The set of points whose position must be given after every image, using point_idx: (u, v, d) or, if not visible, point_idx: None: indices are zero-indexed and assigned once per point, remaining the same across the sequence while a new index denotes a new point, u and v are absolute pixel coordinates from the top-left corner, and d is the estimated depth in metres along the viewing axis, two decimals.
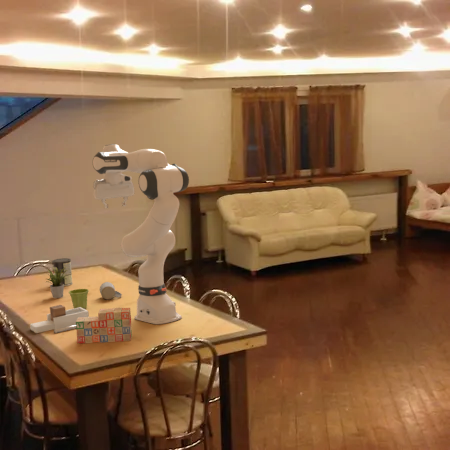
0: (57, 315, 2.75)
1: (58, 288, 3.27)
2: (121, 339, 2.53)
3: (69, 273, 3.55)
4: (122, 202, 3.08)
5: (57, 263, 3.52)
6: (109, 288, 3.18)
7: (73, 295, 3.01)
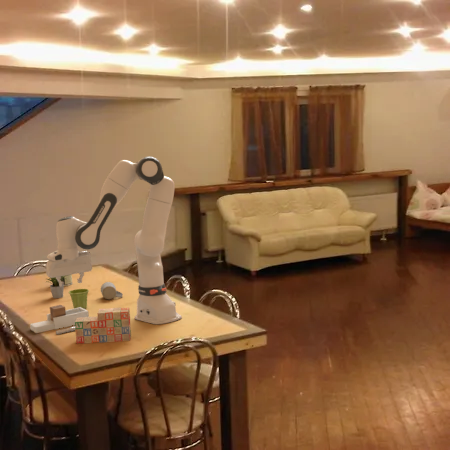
0: (57, 315, 2.75)
1: (58, 288, 3.27)
2: (120, 339, 2.53)
3: None
4: (62, 282, 2.77)
5: None
6: (110, 288, 3.18)
7: (73, 295, 3.01)
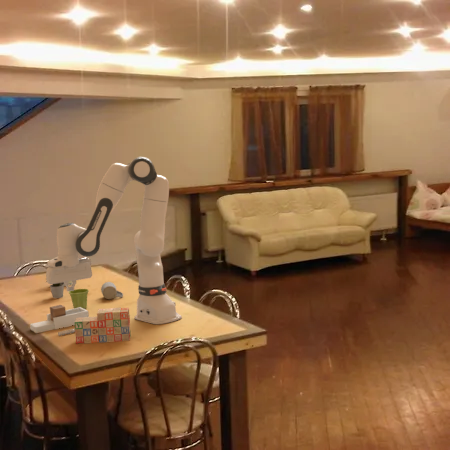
0: (57, 315, 2.75)
1: (58, 288, 3.27)
2: (120, 339, 2.53)
3: None
4: (70, 287, 2.80)
5: None
6: (110, 288, 3.18)
7: (73, 295, 3.01)
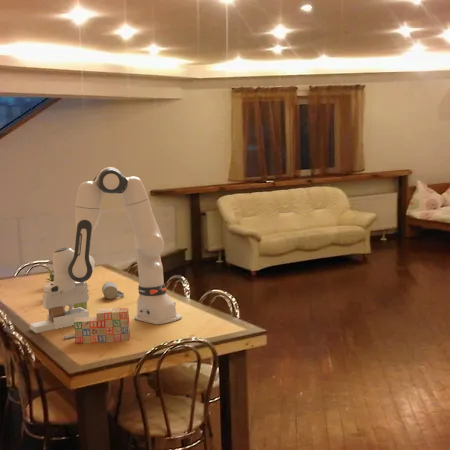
0: (55, 315, 2.75)
1: None
2: (119, 339, 2.53)
3: None
4: (67, 311, 2.80)
5: None
6: (111, 288, 3.19)
7: None
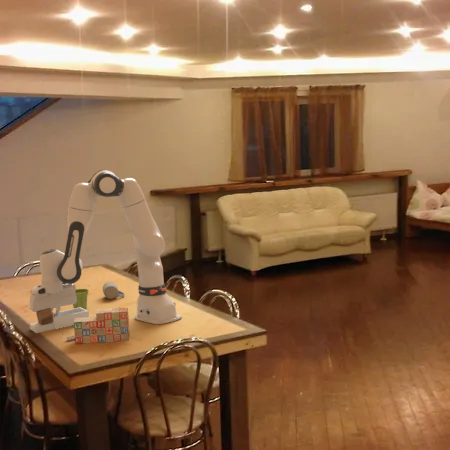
0: (43, 317, 2.72)
1: None
2: (119, 339, 2.53)
3: None
4: (55, 313, 2.77)
5: None
6: (112, 288, 3.19)
7: None
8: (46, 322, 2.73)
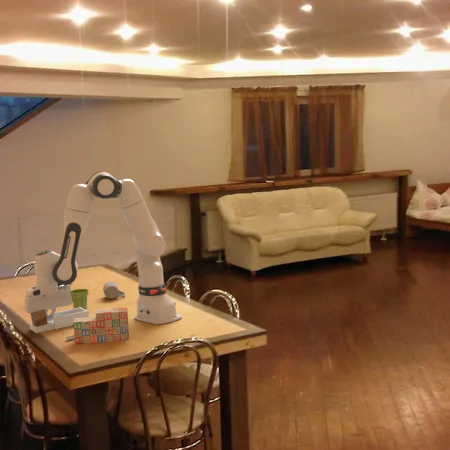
0: (37, 319, 2.70)
1: None
2: (119, 339, 2.54)
3: None
4: (49, 315, 2.75)
5: None
6: (112, 288, 3.19)
7: (73, 295, 3.01)
8: (40, 324, 2.71)
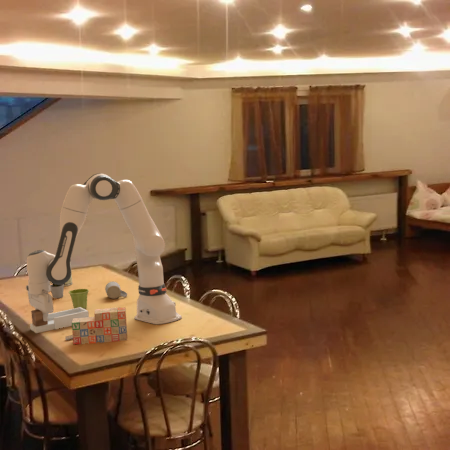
0: (38, 319, 2.70)
1: (58, 288, 3.27)
2: (117, 339, 2.54)
3: None
4: None
5: None
6: (115, 287, 3.19)
7: (73, 295, 3.01)
8: (40, 324, 2.71)
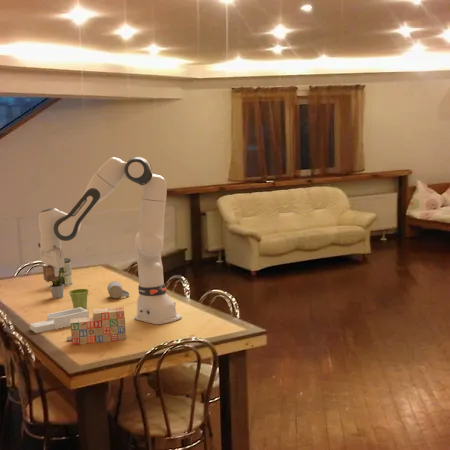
0: (49, 274, 2.80)
1: (58, 288, 3.27)
2: (116, 339, 2.54)
3: (69, 273, 3.55)
4: None
5: None
6: (117, 287, 3.19)
7: (73, 295, 3.01)
8: (52, 279, 2.81)
